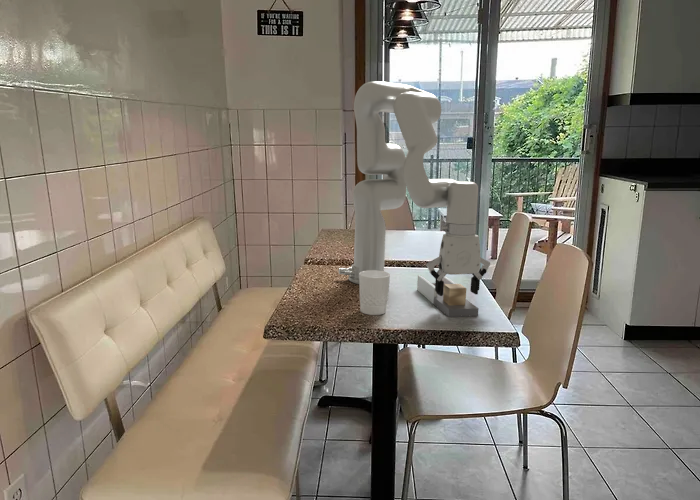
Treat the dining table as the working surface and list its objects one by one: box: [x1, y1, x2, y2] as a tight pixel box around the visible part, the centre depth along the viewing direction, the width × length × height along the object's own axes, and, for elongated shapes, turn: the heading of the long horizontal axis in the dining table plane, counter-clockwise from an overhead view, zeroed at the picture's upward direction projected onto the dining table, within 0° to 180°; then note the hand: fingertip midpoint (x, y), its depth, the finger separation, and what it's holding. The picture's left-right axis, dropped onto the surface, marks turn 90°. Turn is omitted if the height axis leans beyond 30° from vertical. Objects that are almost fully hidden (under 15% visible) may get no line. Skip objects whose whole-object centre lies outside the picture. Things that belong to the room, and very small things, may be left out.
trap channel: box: [416, 274, 479, 318], centre depth 149 cm, size 8×25×4 cm, turn 12°
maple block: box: [443, 283, 467, 305], centre depth 141 cm, size 4×4×4 cm
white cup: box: [358, 270, 391, 316], centre depth 138 cm, size 8×8×10 cm
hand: (456, 293), depth 142 cm, fingers open, 9 cm apart
